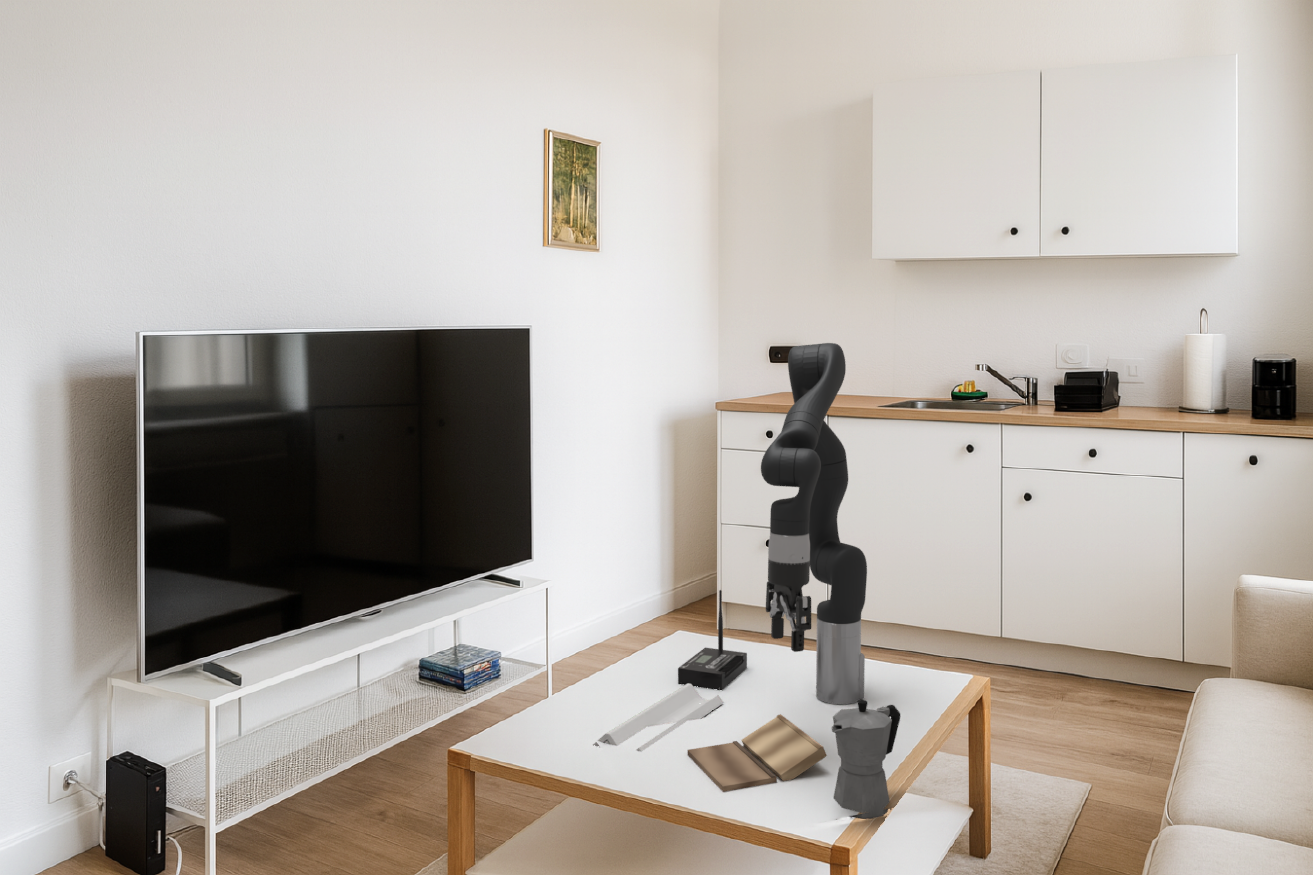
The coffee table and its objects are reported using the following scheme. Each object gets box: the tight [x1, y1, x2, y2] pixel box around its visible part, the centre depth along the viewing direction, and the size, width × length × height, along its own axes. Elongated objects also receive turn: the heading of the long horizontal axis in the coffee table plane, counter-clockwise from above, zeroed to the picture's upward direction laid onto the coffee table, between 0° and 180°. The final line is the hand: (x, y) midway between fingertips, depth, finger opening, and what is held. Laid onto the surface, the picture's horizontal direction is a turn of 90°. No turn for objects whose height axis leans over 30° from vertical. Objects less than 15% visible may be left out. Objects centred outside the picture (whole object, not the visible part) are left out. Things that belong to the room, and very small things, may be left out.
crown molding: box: [592, 683, 725, 752], centre depth 202 cm, size 31×12×4 cm, turn 149°
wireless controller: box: [677, 589, 748, 691], centre depth 231 cm, size 20×14×17 cm
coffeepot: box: [831, 699, 902, 820], centre depth 166 cm, size 15×9×18 cm, turn 125°
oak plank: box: [740, 713, 828, 782], centre depth 182 cm, size 16×9×2 cm, turn 20°
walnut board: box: [687, 740, 778, 793], centre depth 179 cm, size 10×16×2 cm, turn 20°
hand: (787, 644), depth 186 cm, fingers open, 8 cm apart
